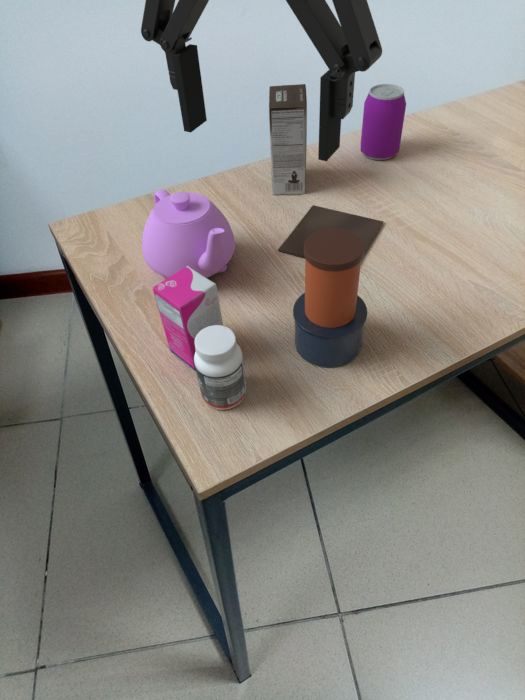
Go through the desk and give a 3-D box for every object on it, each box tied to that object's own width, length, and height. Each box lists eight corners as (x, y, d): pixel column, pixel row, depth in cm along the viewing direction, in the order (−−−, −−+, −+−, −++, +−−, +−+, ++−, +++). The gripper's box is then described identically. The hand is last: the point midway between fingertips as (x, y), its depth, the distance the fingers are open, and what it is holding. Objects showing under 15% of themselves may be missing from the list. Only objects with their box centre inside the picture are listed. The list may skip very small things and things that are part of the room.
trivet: (383, 223, 90) (383, 221, 89) (354, 271, 81) (354, 269, 81) (312, 206, 94) (312, 205, 94) (278, 251, 86) (278, 249, 86)
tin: (372, 330, 73) (377, 297, 68) (348, 378, 67) (351, 346, 63) (310, 310, 76) (310, 278, 72) (281, 355, 71) (280, 323, 66)
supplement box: (200, 327, 75) (188, 263, 66) (228, 349, 72) (219, 284, 63) (167, 350, 72) (150, 286, 64) (195, 373, 69) (181, 308, 61)
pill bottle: (204, 375, 69) (193, 321, 61) (247, 375, 68) (241, 320, 61) (199, 411, 65) (186, 358, 58) (245, 411, 65) (238, 357, 57)
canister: (364, 300, 68) (372, 236, 61) (345, 335, 64) (351, 270, 57) (315, 286, 70) (318, 223, 63) (294, 319, 66) (294, 255, 59)
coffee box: (271, 170, 103) (268, 84, 92) (304, 169, 103) (305, 82, 91) (271, 195, 97) (268, 107, 85) (306, 194, 97) (308, 105, 85)
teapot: (268, 282, 81) (265, 211, 72) (188, 322, 76) (173, 252, 66) (201, 223, 92) (190, 156, 83) (127, 255, 87) (107, 187, 78)
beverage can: (390, 165, 102) (399, 102, 94) (353, 157, 105) (358, 95, 96) (404, 148, 107) (414, 86, 98) (368, 140, 110) (374, 79, 101)
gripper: (41, -192, 34) (123, 132, 50) (425, -217, 25) (377, 189, 40) (116, -200, 38) (169, 100, 54) (466, -223, 29) (408, 146, 45)
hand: (258, 139), depth 47 cm, fingers open, 13 cm apart
